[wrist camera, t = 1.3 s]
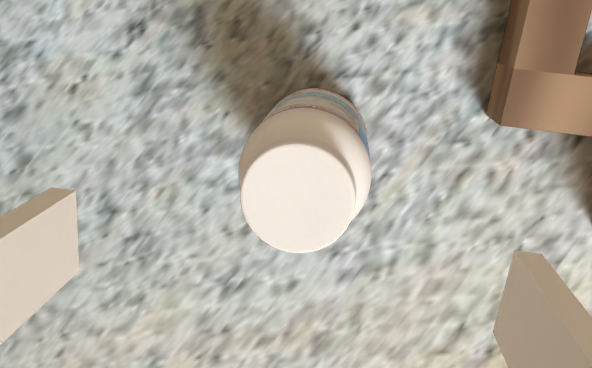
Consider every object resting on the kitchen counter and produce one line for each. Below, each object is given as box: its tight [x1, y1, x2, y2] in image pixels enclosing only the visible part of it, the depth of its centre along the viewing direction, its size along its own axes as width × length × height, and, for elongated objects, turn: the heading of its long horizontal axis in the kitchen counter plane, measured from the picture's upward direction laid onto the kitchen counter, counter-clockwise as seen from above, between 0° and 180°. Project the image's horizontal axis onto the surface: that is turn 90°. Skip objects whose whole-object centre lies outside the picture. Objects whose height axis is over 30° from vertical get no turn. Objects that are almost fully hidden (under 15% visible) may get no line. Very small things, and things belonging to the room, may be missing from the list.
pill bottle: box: [239, 88, 371, 253], centre depth 25 cm, size 6×6×11 cm
